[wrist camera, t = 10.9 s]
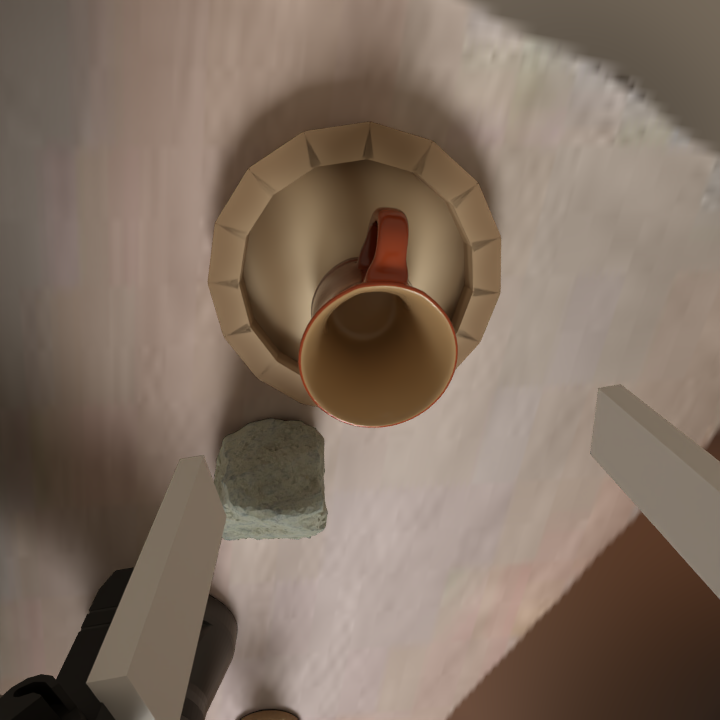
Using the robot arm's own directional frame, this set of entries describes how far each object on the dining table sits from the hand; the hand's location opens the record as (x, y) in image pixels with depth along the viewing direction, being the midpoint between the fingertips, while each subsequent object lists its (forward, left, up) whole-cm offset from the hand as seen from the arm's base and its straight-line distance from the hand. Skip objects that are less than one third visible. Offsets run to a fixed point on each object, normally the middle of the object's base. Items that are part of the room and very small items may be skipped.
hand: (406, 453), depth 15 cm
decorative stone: (-10, -16, -21) cm, 28 cm away
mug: (+1, 0, -20) cm, 20 cm away
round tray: (0, 0, -21) cm, 21 cm away
